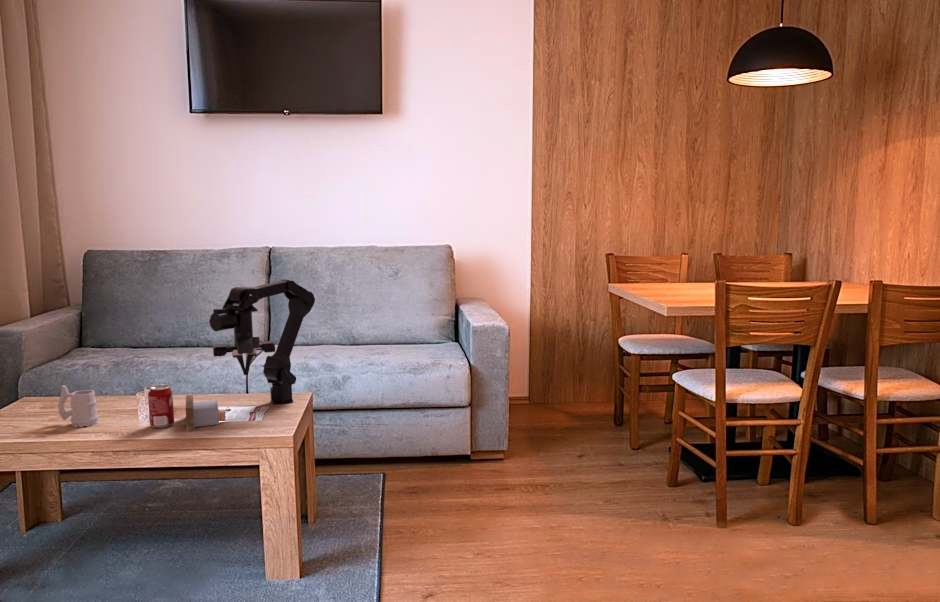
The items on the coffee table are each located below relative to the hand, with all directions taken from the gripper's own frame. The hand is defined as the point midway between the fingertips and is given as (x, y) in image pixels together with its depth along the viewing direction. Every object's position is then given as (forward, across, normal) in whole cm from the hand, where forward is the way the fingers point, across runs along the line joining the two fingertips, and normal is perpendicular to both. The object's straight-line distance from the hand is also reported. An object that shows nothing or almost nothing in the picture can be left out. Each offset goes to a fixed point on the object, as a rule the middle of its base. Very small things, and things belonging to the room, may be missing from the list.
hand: (245, 374), depth 232 cm
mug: (+12, -49, +5) cm, 51 cm away
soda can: (+12, -25, -7) cm, 29 cm away
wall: (+12, -17, -8) cm, 22 cm away
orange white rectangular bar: (+12, -11, -8) cm, 19 cm away
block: (+12, -13, -8) cm, 19 cm away
